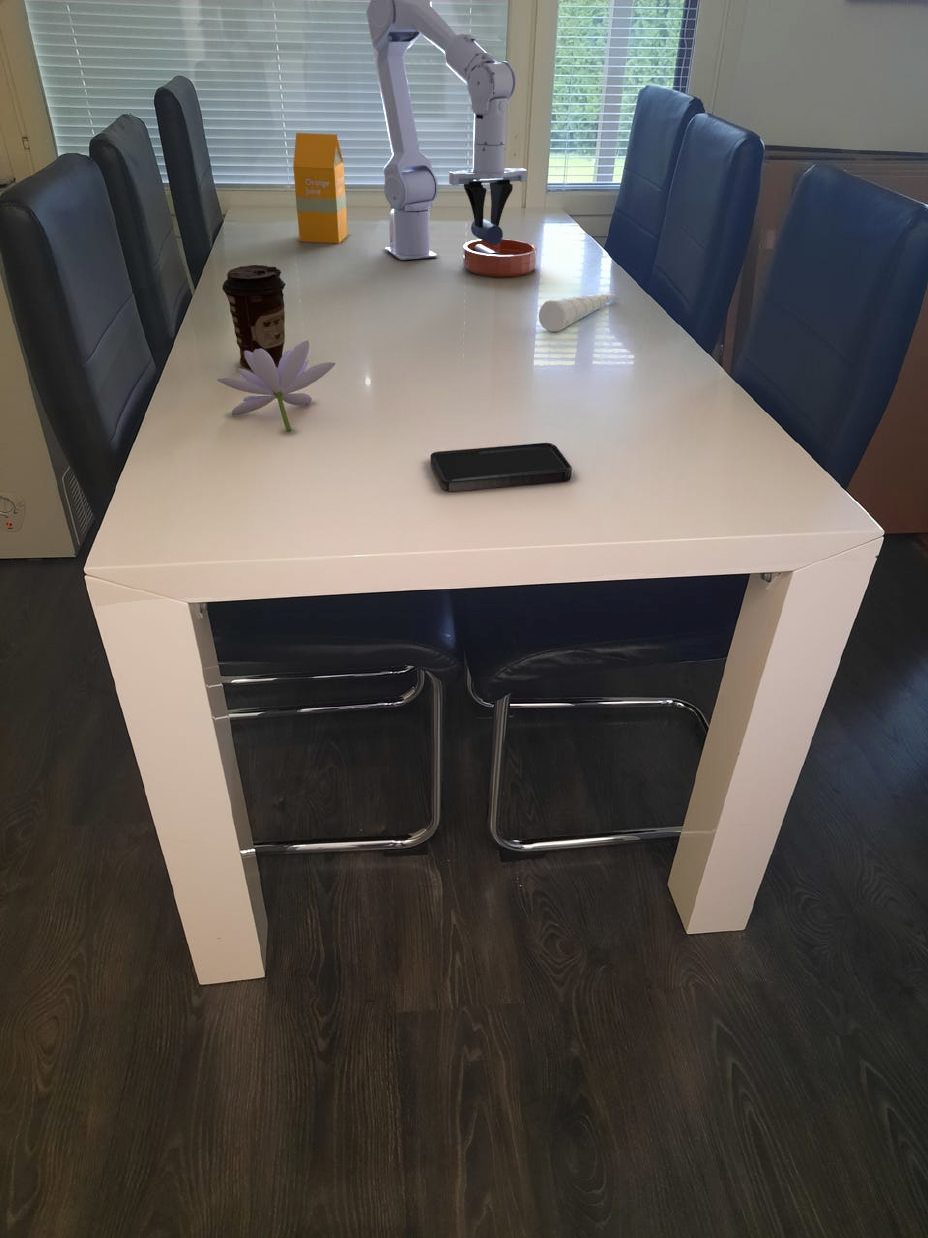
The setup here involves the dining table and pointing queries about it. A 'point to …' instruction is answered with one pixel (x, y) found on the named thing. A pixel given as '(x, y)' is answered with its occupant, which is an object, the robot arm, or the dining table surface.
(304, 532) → the dining table surface
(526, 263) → the bowl
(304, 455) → the dining table surface
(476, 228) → the navy tube
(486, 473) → the phone
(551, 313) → the unicorn horn
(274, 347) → the coffee cup
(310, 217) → the orange juice
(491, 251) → the black cylinder
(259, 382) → the water lily
